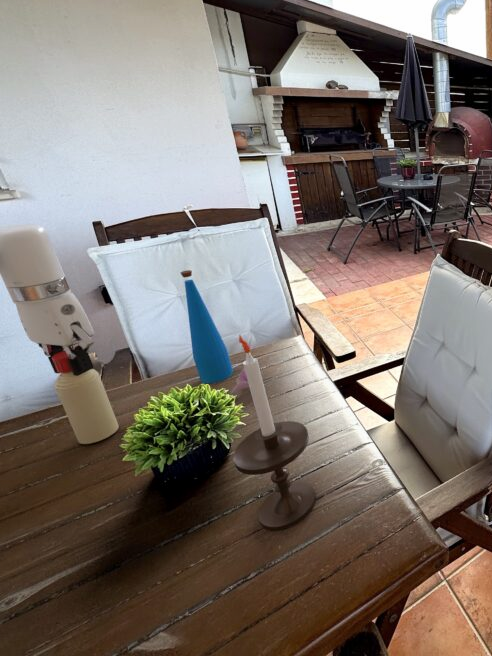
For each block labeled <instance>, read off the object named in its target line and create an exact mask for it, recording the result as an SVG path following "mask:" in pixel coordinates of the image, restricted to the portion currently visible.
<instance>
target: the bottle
mask: <svg viewBox="0 0 492 656" xmlns="http://www.w3.org/2000/svg"><path fill="white" fill-rule="evenodd" d="M192 274H193V270H190V269H188V270H183V271H181V272H180V275H181V276H182V278H189V277H192V276H193V275H192ZM184 289H185V297H186V306H187V315H188V322H189V331H190V340H191V349H192V351H191V352H192V358H193V361H194V365H195V367H196V371H197V373H198V378H199V380H200V382H201V383H202V384H206V383H210V384H216V383H219V382H222V381H224V380H226V379H228V378H229V377H231V375H233V373H234V369H233V366H232V361H231V359H230V355H229V352H228V351H229V350H228V348H227V346H226V344H225V342H224V340H223V338H222V336H221V334H220V331H219V330H218V328H217V326H216V324H215V322H214V320H213V318H212V316H211V314H210V312H209V310H208V308H207V306H206V303H205V302H204V300H203V298H202V296H201V294H200V292H199V289H198V288H197V286H196V284H195V281H194V280H193V279H186V280H184Z"/></svg>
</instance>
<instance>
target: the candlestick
mask: <svg viewBox="0 0 492 656" xmlns="http://www.w3.org/2000/svg"><path fill="white" fill-rule="evenodd" d="M238 337H239V338H238V343H241V347H242V348H243V351H244V352H245V356H246V357H245V360H244V361H243V362H242V365H243V369H245V372H246V376H247V380H248V384H249V387H248V388H249V390H250V391H249V392H250V394H251V398H252V401H253V405H254V409H255V413H256V416H257V420H258V424H259V427H260V428H258V429H256V430H255V431H253V432H252V433H250V434H249V435H247V436H246V437H245V438H243V439H242V441H240V443H239V444H238V445H237V446H236V448H235V450H234V452H233V456H232V457H233V458H232V459H233V463H234V466H235V468H236V470H237V471H238V472H240V473H242V474H243V475H244V474H245V475H249V476H257V475H258V476H259V475H264V474H269V473H271V476H270V481H271V482H272V483H274V484H275V485H274V491H272V492H271V493H270V494H269V495H268V496H267V497H266V498H265V499H264V500H263V502H262V503H261V505H260V506H259V508H258V509H259V510H258V512H257V513H258V514H257V517H258V520H259V523H260V525H261V527H262V528H263V529H265V530H267V531H271V532H276V531H283V530H286V529H289V528H292V527H294V526H296V525H297V524H299V523H300V522H301V521H303V520H304V519H305V518H306V517H308V516H309V514H310V513H311V512H312V511H313V509H314V507H315V504H316V501H317V495H316V494H317V493H316V490H315V488H314V486H313V485H312V484H310V483H307V482H304V481H296V482H291V479H288V478H289V476H290V470H289V468H287V467H286V466H288V465H290V464H291V463H292V462H294V461H295V460H296V459H297V458H299V457H300V456H301V454H303V452H304V451H305V449H306V448H307V446H308V444H309V440H310V437H309V432H308V429H307V427H306V426H305V425H304V424H303V423H300V422H298V421H293V420H291V421H290V420H286V421H285V420H284V421H278V422H274V419H273V415H272V411H271V408H270V404H269V399H268V396H267V391H266V389H265V388H266V387H265V385H264V380H263V377H262V373H261V369H260V365H259V361H258V360H257V359H258V358H255V357H253V356H252V354H251V348H250V347H251V346H250V345H249V344H248V342H247V341H246V340H245V339H243V337H242V336H241V334H239V335H238Z"/></svg>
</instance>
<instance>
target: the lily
mask: <svg viewBox="0 0 492 656" xmlns="http://www.w3.org/2000/svg"><path fill="white" fill-rule="evenodd" d="M256 359H257V361H258V360H259V359H260V358H259V357H258V358H256ZM234 380H235V381H236V385H235V386H234V387H233V388H232V390H231V391H230V393H229V394H228V395H231V396H232V395H233V394H234V393H235V392H238V391H240V390H243V389H246V388H250V387H249V384H248V380H247V376H246V372H245V369H244V368H243V369H242V370H241V372H240V373H239V374H238V376H237V377H236V378H235V379H234Z"/></svg>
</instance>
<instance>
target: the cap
mask: <svg viewBox="0 0 492 656" xmlns="http://www.w3.org/2000/svg"><path fill="white" fill-rule="evenodd" d="M72 349H73V350H74V348H72ZM67 359H69V356H68V355H67V353H66V351H62V352H59V353H57V354H55V355H53V356H52V360H53V363H54V366H55V368H56V370H57V372H58V373H59V374H61V373H67V372H72V370H71V368H70V365H69V363H68V361H67ZM58 373H57V374H58Z"/></svg>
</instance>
